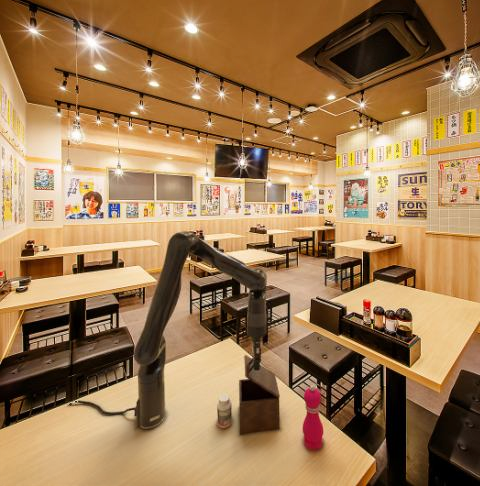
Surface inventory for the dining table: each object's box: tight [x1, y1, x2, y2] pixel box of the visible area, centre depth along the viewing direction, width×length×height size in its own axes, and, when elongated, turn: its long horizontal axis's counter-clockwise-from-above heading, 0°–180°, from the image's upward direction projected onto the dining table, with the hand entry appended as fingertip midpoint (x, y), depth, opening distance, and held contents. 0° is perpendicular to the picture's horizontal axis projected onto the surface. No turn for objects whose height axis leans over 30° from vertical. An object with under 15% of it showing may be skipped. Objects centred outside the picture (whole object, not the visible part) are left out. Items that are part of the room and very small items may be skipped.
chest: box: [238, 378, 281, 436], centre depth 100 cm, size 15×13×12 cm
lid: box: [243, 353, 281, 399], centre depth 100 cm, size 15×13×5 cm
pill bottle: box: [216, 393, 233, 429], centre depth 98 cm, size 5×5×10 cm
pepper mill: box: [302, 384, 324, 451], centre depth 89 cm, size 7×7×20 cm
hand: (256, 364), depth 99 cm, fingers closed on lid, 5 cm apart
